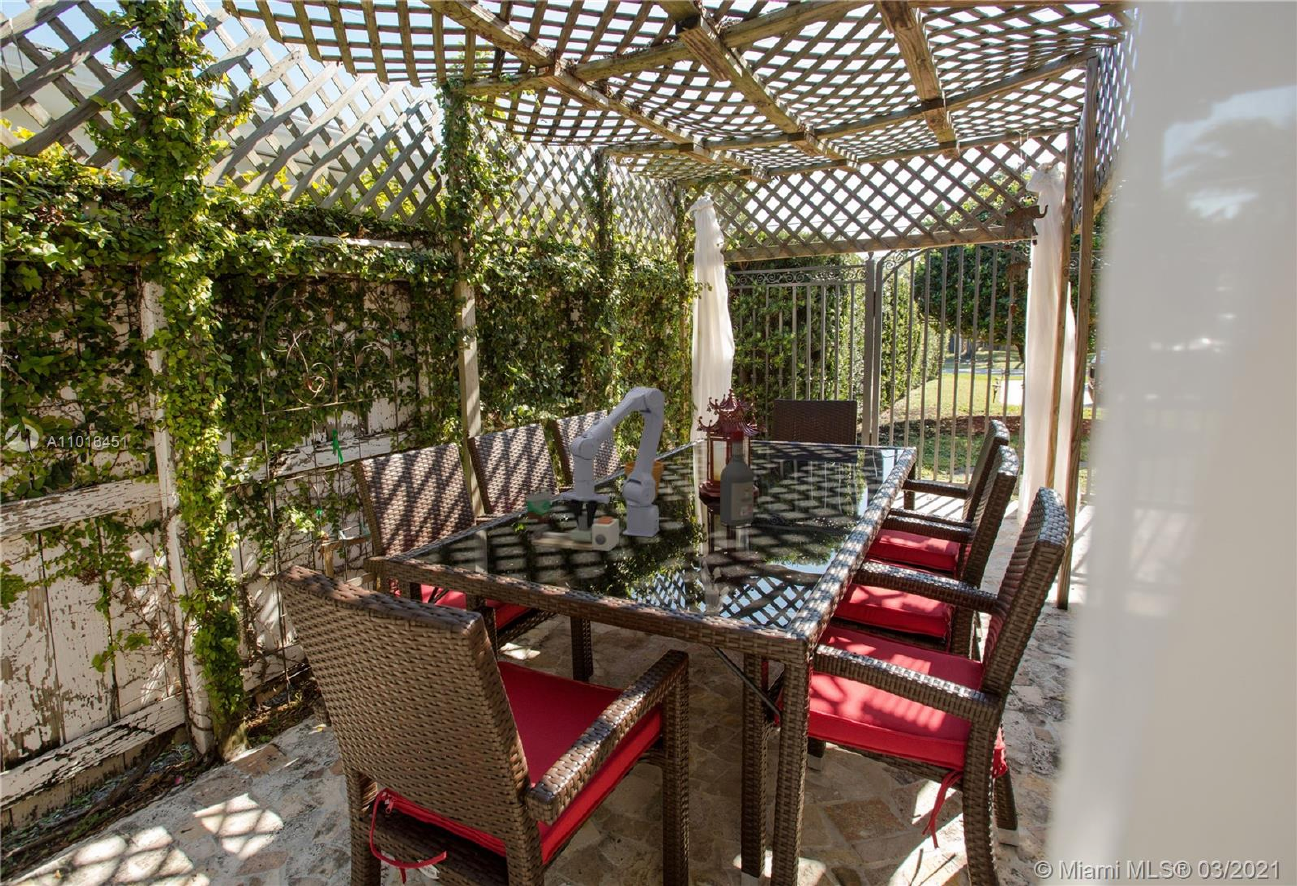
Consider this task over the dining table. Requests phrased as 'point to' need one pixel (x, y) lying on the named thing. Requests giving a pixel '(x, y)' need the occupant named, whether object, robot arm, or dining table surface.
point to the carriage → (582, 530)
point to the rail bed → (558, 539)
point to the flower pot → (656, 474)
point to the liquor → (736, 486)
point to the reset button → (605, 520)
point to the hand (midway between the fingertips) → (585, 525)
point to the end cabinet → (605, 535)
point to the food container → (538, 505)
